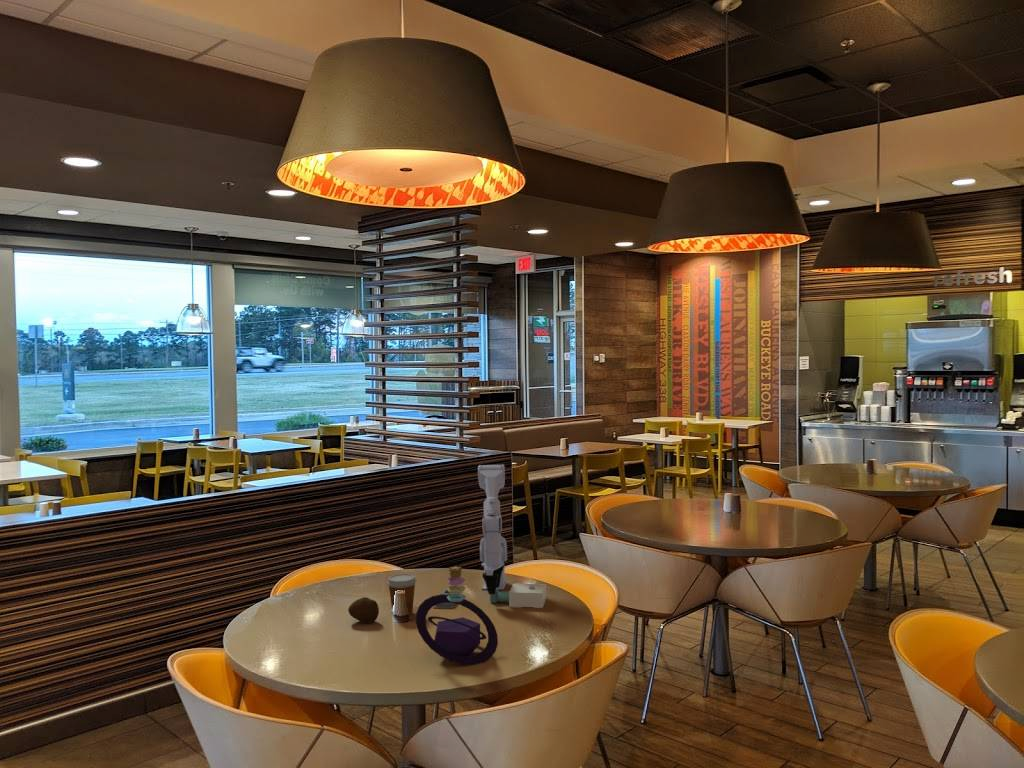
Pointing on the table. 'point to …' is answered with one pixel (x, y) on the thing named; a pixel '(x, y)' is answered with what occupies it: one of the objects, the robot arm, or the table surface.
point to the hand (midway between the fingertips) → (493, 590)
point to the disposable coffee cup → (402, 588)
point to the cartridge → (499, 596)
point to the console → (444, 605)
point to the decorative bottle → (457, 627)
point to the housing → (527, 595)
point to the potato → (364, 610)
